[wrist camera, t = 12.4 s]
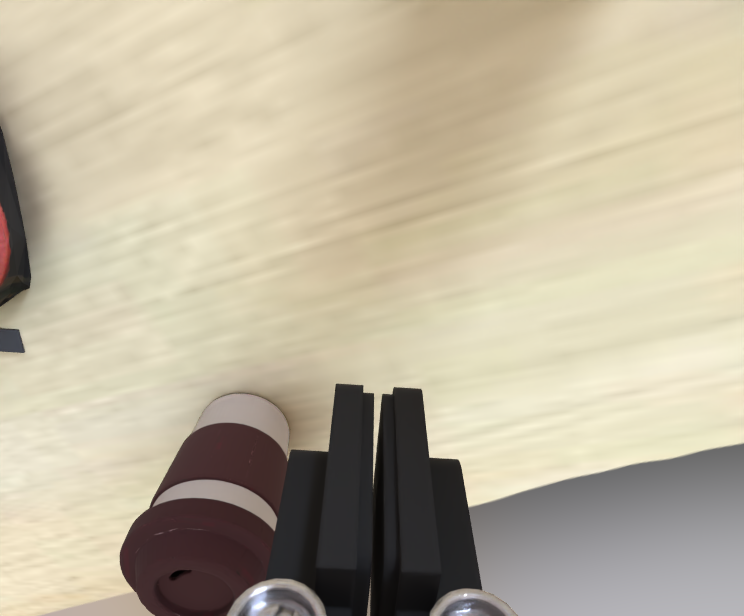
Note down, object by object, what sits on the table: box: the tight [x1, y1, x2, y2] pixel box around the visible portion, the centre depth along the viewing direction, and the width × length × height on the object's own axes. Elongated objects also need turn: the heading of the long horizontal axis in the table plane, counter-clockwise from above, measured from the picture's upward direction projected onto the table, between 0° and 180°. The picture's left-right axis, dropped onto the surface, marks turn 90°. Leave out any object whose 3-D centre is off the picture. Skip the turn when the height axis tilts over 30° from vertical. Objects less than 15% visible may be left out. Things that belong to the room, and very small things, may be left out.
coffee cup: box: [120, 394, 289, 616], centre depth 40 cm, size 10×10×15 cm
